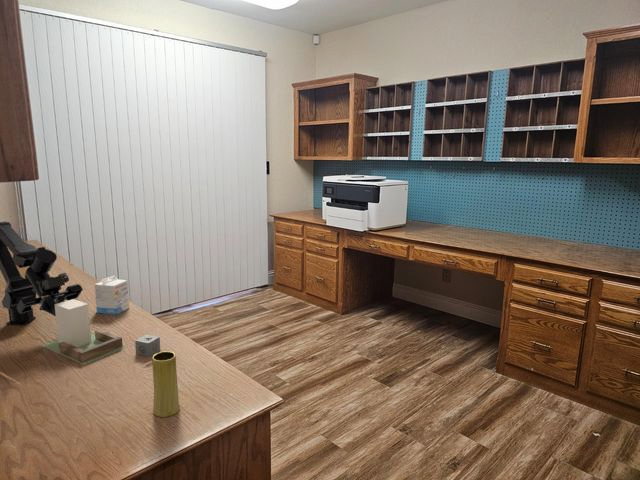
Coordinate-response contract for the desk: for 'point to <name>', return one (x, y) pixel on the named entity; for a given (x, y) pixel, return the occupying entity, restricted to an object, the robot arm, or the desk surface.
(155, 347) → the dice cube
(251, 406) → the desk surface
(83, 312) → the cream block
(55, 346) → the putting strip
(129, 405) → the desk surface
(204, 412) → the desk surface
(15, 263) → the robot arm
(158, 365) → the vase
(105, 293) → the ink box
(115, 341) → the wooden tray
